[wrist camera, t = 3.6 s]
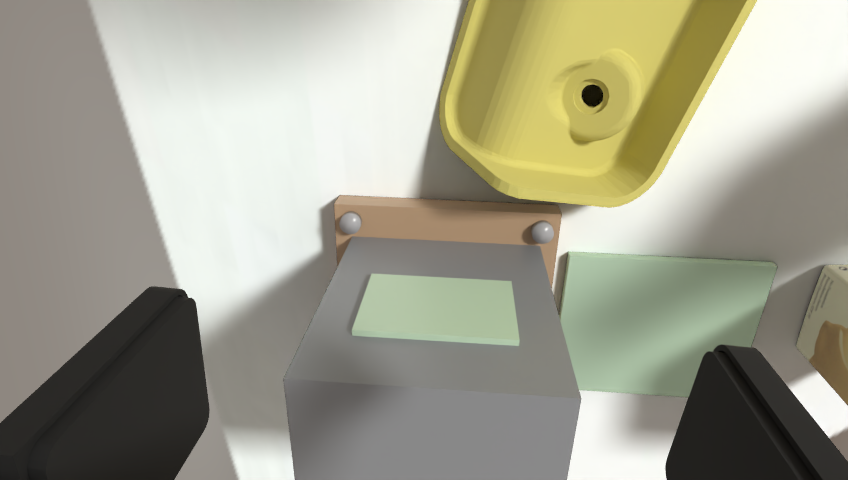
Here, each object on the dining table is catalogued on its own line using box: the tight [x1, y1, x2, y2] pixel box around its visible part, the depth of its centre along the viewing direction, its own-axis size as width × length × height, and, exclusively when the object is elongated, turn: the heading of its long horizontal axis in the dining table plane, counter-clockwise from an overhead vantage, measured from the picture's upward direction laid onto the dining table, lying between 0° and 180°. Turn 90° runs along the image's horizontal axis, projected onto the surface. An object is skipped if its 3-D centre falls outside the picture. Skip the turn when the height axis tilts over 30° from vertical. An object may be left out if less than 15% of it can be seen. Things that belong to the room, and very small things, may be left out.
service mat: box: [559, 252, 778, 397], centre depth 34 cm, size 10×12×1 cm
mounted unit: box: [283, 195, 581, 480], centre depth 28 cm, size 12×13×14 cm
